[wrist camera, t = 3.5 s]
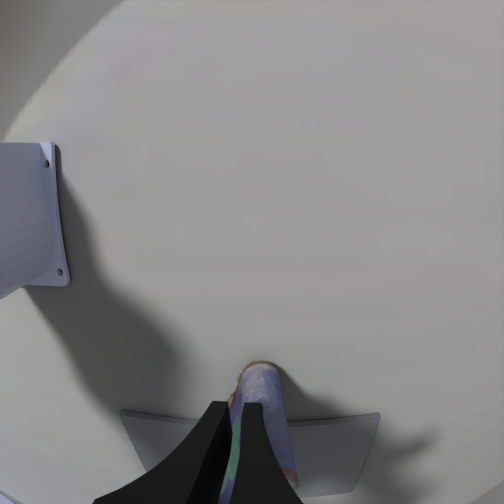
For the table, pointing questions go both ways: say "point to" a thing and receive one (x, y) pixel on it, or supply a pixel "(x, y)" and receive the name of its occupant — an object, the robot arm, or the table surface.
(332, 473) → the mat
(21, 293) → the table surface
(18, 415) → the table surface
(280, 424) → the clover print pouch
